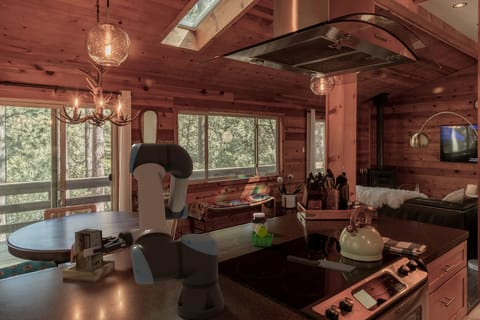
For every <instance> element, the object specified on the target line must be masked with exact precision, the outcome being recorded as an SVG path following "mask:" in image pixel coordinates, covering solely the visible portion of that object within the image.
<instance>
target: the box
mask: <svg viewBox="0 0 480 320" xmlns="http://www.w3.org/2000/svg"><path fill="white" fill-rule="evenodd" d="M115 270H116V260H106V259H105V260H104V259H103V267H101V268H99V269H97V270H95V271H94V272H87V271H76V263H75V264H73V265H71V266H68V267H67V268H65V269H62V280H66V281H76V282H77V281H79V282H87V283H95V282H96V281H98V280H100V279H101V278H103V277H105V276H107V275H108V274H110V273H111V272H113V271H115Z"/></svg>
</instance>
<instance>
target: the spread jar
mask: <svg viewBox="0 0 480 320" xmlns="http://www.w3.org/2000/svg"><path fill="white" fill-rule="evenodd" d="M252 215H253V217H252V218H251V220H250V231H251V233H252V234H253V233H257V230H258V228H259V226H261V225H264V226H265V228H266V229H267V230H268V229H269V228H268V227H269V226H268V225H269V224H268V222H269V221H268V219H267V218H266V216H265V213H264V212H254V213H253V214H252Z"/></svg>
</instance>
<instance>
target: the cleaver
mask: <svg viewBox="0 0 480 320" xmlns="http://www.w3.org/2000/svg"><path fill="white" fill-rule="evenodd" d="M286 260H287V261H289V262H293V263H298V264H301V265H305V266H309V267H315V268H324V269H327V270H333V271H339V272H343V273H351V272H353V270H354V269H356V268H357V267H356V266H353V265H349V264H345V263H340V262H337V261H336V262H335V261H331V260H324V259H318V260H311V259H310V260H309V259H307V258H304V257H298V256H294V255H287V256H286Z"/></svg>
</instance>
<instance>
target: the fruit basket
mask: <svg viewBox="0 0 480 320" xmlns="http://www.w3.org/2000/svg"><path fill="white" fill-rule="evenodd" d="M250 237H251V241H252V246H253V247H256V246H257V247H271V246H272V243H273V238H274V234H273V233H268V229H266V228H265V226H264V225H261V226H259V228H258V230H257V233H253V232H252V234H251V235H250Z"/></svg>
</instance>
